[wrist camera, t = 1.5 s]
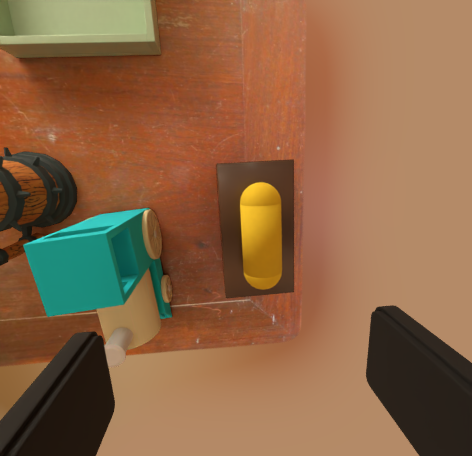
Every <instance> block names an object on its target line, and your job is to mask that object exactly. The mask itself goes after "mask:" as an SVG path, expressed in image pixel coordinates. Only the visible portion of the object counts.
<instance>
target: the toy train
mask: <svg viewBox="0 0 472 456" xmlns="http://www.w3.org/2000/svg"><path fill="white" fill-rule="evenodd" d="M23 247H24V250H25V252H26V255H27V258H28V261H29V264H30V267H31V270H32V273H33V276H34V279H35V282H36V285H37V288H38V291H39V294H40V296H41V299H42V302H43V305H44V308H45V311H46V314H47V317H49V316H55V315H62V314H68V313H75V312H81V311H87V310H94V309H97V313H98V316H99V320H100V323H101V327H102V330H103V334H104V337H105V341H106V345H104V347H105V353H106V358H107V363H108V367H117V366H119V365H121V364H122V363H123V362H124V360H125V358H126V351H127V350H129V349H133V348H136V347H139V346H141V345H143V344H145V343H146V342H148V341H150V340H151V339H152V338H153V337H155V336H156V334H157V333H158V332H159V330H160V328H161V320H160V319H164V318H170V317H172V313H171V308H170V304H169V302H171V299H172V285H171V280H170V277H169V276H168V275H163V270H162V266H161V261H160V255H161V250H162V238H161V231H160V226H159V222H158V219H157V217H156V215H155V213H154V211H153V210H151V209H150V208H143V209H136V210H129V211H121V212H114V213H107V214H100V215H98V216H95V217H91V218H88V219H86V220H85V221H83V222H80V223H77V224H75V225H72V226H70V227H67V228H65V229H62V230H60V231H57V232H55V233H52V234H49V235H47V236H44V237H42V238H39V239H37V240H34V241H32V242H29V243H27V244H24V245H23Z"/></svg>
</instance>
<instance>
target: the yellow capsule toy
mask: <svg viewBox="0 0 472 456" xmlns="http://www.w3.org/2000/svg"><path fill="white" fill-rule="evenodd" d="M240 213H241V232H242V252H243V271H244V276H245V278H246V280H247V282H248V283H249V284H250V285H251V286H253V287H255V288H257V289H262V290H264V289H269V288H272V287H273V286H275V285H276V284H277V283H278V282H279V280H280V278H281V275H282V224H281V198H280V195H279V193H278V191H277V190H276V189H275V188H274V187H273V186H272V185H270V184H268V183H264V182H259V183H254V184H252V185H250V186H248V187H247V188H246V189H245V190H244V192H243V193H242V196H241V199H240Z"/></svg>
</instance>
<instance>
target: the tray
mask: <svg viewBox="0 0 472 456" xmlns="http://www.w3.org/2000/svg"><path fill="white" fill-rule="evenodd" d="M0 48H1V49H2V50H4V51H6V52H8V53H9V54H11V55H13V56H15V57H17V58H37V57H80V56H124V55H161V48H160V39H159V29H158V20H157V11H156V2H155V0H0Z"/></svg>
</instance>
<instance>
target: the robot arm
mask: <svg viewBox="0 0 472 456" xmlns="http://www.w3.org/2000/svg"><path fill="white" fill-rule="evenodd" d="M366 377H367V381H368V384H369V386H370V387H371V389H372V390H373V391H374V393H375V394H376V396H377V397H378V398H379V400H380V401H381V403H382V404H383V405H384V407H385V408H386V409H387V411H388V412H389V414H390V415H391V417H392V418H393V419H394V420H395V422H396V423H397V425H398V426H399V428H400V429H401V430H402V432H403V433H404V435H405V436H406V438H407V439H408V440H409V442H410V443H411V445H412V446H413V447H414V449H415V450H416V452H417V453H418V454H419V456H472V363H471V362H470V361H468V360H467V359H466V358H464V357H463V356H462V355H460V354H459V353H458V352H456V351H455V350H454V349H452V348H451V347H450V346H448V345H447V344H446V343H445V342H443V341H442V340H441V339H439V338H438V337H437V336H435V335H434V334H433V333H431V332H430V331H429V330H427V329H426V328H425V327H423V326H422V325H421V324H419V323H418V322H416V321H415V320H414V319H413V318H411V317H410V316H409V315H407V314H406V313H405V312H403V311H402V310H401V309H399V308H398V307H396V306H382V307H377V308H376V310H375V311H374V312H372V315H371V325H370V336H369V348H368V358H367V369H366ZM114 407H115V400H114V395H113V390H112V384H111V379H110V374H109V369H108V363H107V358H106V353H105V347H104V342H103V338H102V336H98V335H97V333H96V332H82V333H76V334H74V335H73V336H72V337H71V338H70V340H69V341H68V342H67V343H66V344H65V345H64V347H63V348H62V349H61V350H60V351H59V352H58V354H57V355H56V356H55V357H54V358H53V360H52V361H51V362H50V363H49V364H48V366H47V367H46V368H45V369H44V370H43V371H42V373H41V374H40V375H39V376H38V377H37V378H36V380H35V381H34V382H33V383H32V384H31V386H30V387H29V388H28V389H27V390H26V391H25V392H24V394H23V395H22V396H21V397H20V398H19V400H18V401H17V402H16V403H15V404H14V405H13V407H12V408H11V409H10V410H9V411H8V413H7V414H6V415H5V416H4V417H3V418H2V419H1V421H0V456H96V454H97V452H98V449H99V447H100V444H101V442H102V439H103V437H104V434H105V432H106V430H107V427H108V425H109V423H110V420H111V418H112V415H113V412H114Z"/></svg>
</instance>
